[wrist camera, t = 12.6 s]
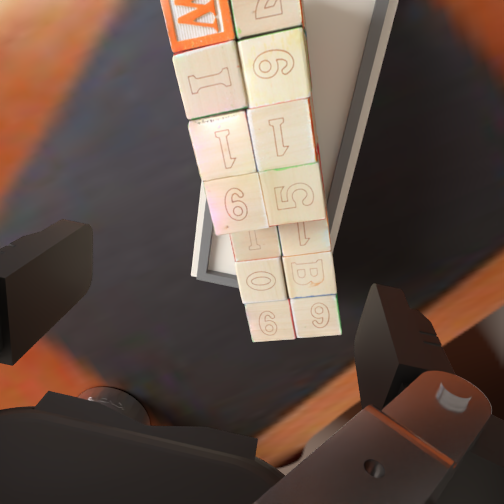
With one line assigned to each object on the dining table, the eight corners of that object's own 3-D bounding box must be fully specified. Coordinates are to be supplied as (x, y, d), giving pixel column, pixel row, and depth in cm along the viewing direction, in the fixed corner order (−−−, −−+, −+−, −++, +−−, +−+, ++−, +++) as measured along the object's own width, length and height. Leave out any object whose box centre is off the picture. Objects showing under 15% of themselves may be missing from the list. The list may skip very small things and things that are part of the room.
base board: (319, 296, 40) (319, 307, 38) (194, 270, 40) (188, 279, 39) (404, -31, 29) (410, -38, 27) (232, -59, 30) (227, -67, 28)
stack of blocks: (335, 275, 36) (345, 366, 25) (263, 282, 38) (242, 373, 26) (302, -10, 29) (294, -61, 17) (212, 11, 30) (152, -25, 19)
